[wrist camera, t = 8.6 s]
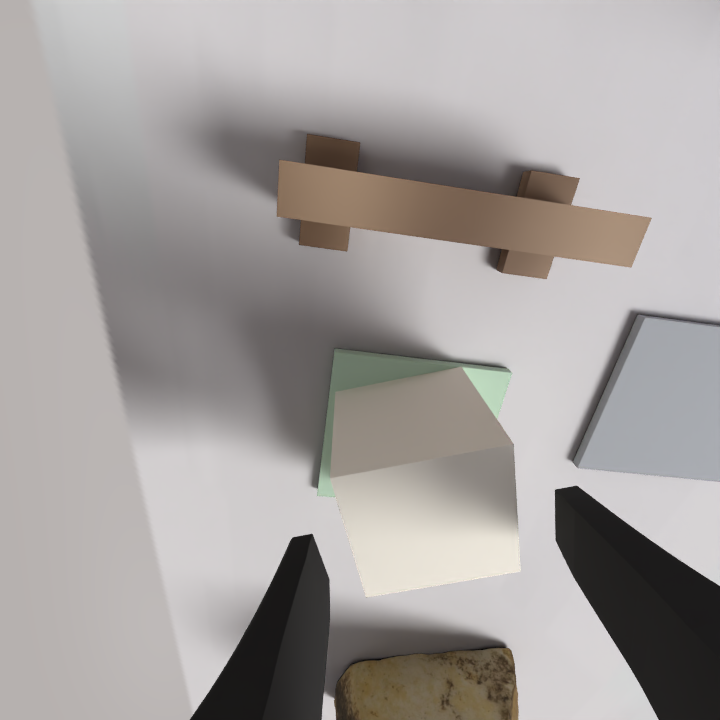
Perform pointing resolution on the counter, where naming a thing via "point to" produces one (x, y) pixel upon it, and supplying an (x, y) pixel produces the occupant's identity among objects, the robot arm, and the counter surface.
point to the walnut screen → (452, 212)
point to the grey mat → (660, 404)
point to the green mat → (379, 368)
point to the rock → (431, 687)
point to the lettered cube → (424, 483)
